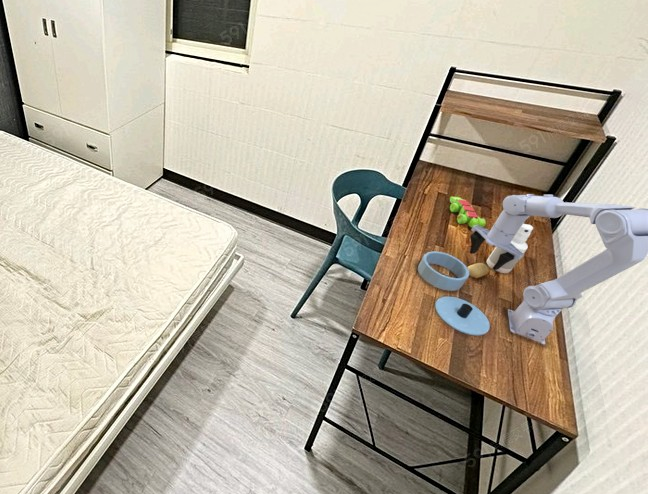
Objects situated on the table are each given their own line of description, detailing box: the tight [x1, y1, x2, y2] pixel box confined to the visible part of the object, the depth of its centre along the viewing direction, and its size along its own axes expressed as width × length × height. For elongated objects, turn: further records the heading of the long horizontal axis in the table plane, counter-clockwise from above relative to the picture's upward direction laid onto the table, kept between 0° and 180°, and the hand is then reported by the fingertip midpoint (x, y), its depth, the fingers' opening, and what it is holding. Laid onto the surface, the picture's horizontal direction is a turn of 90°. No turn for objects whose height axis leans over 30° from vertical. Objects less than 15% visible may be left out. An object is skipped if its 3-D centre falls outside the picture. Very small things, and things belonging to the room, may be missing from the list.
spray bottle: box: [486, 223, 534, 274], centre depth 134 cm, size 7×7×18 cm
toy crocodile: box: [449, 196, 487, 229], centre depth 159 cm, size 20×7×6 cm, turn 168°
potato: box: [466, 262, 489, 279], centre depth 134 cm, size 7×4×4 cm, turn 110°
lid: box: [434, 296, 491, 337], centre depth 120 cm, size 14×14×4 cm
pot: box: [417, 250, 470, 292], centre depth 133 cm, size 13×13×6 cm
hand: (483, 260), depth 132 cm, fingers open, 7 cm apart
